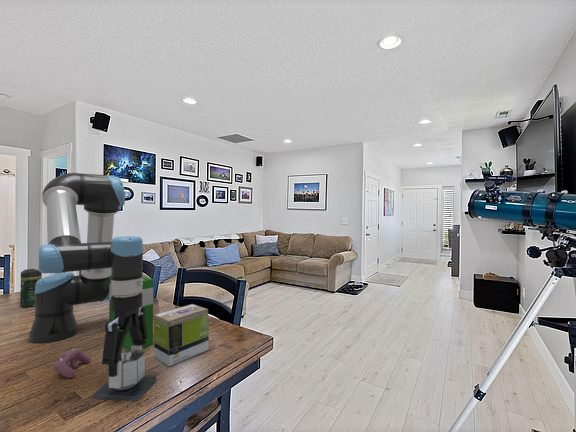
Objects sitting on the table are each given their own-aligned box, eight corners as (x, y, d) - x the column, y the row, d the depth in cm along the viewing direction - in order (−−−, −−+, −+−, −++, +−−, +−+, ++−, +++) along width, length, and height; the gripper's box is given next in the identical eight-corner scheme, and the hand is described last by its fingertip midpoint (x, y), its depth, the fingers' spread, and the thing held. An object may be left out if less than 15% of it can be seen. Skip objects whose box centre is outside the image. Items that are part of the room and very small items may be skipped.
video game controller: (80, 367, 93) (69, 348, 93) (93, 360, 94) (83, 341, 93) (59, 385, 84) (47, 363, 83) (74, 377, 84) (62, 356, 84)
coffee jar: (43, 305, 151) (43, 269, 151) (22, 309, 144) (23, 271, 144) (38, 301, 157) (38, 267, 156) (18, 305, 150) (18, 269, 150)
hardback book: (109, 339, 111) (109, 276, 111) (129, 333, 117) (129, 273, 117) (132, 352, 100) (132, 282, 100) (152, 345, 106) (153, 279, 106)
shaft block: (93, 398, 75) (93, 358, 75) (116, 378, 84) (116, 343, 84) (137, 401, 74) (137, 361, 74) (156, 381, 83) (156, 345, 83)
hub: (100, 386, 75) (100, 363, 75) (121, 369, 84) (121, 348, 84) (131, 388, 75) (131, 364, 75) (149, 370, 83) (149, 349, 83)
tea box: (193, 342, 109) (193, 302, 109) (209, 350, 102) (209, 308, 102) (152, 357, 97) (153, 313, 97) (168, 367, 91) (168, 320, 91)
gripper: (113, 306, 68) (113, 403, 68) (160, 284, 89) (159, 358, 89) (83, 305, 69) (82, 401, 69) (137, 284, 90) (136, 357, 90)
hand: (126, 377), depth 79 cm, fingers closed on hub, 8 cm apart
